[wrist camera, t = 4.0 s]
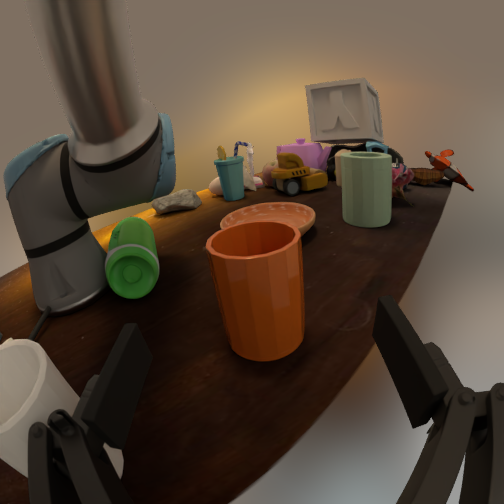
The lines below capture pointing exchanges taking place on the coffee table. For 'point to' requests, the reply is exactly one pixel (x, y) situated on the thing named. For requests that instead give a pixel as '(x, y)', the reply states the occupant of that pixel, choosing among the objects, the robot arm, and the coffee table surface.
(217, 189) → the egg
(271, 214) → the saucer
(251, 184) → the arrowhead
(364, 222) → the green jar
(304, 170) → the toy roller
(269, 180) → the apple
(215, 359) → the coffee table surface
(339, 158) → the candle
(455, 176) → the fish
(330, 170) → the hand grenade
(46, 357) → the mug
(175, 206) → the decorative stone
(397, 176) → the flower
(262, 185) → the smartphone
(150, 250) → the speaker
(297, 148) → the teapot
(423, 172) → the croissant
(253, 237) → the orange cup
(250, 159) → the figurine
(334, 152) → the running shoe
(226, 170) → the cup
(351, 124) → the decorative block
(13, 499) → the coffee table surface
